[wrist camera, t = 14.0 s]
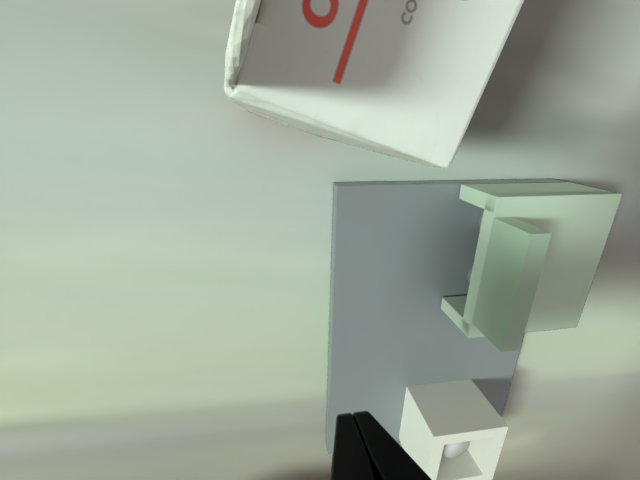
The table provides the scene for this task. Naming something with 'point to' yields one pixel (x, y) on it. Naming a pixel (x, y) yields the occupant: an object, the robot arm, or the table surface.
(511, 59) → the table surface
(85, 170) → the table surface
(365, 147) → the ink cartridge box
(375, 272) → the housing plate
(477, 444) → the white hollow square block
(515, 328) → the cover
